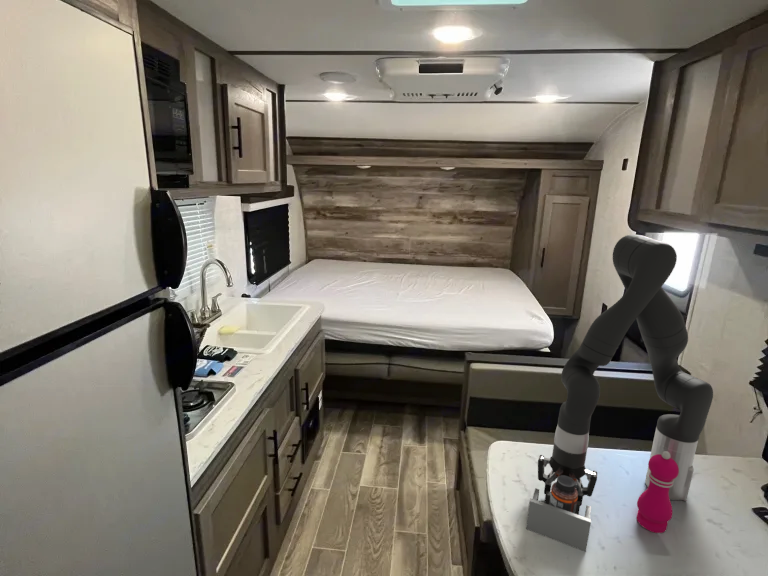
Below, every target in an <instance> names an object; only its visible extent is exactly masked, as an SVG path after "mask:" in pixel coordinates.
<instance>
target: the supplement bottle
mask: <svg viewBox="0 0 768 576" xmlns="http://www.w3.org/2000/svg"><path fill="white" fill-rule="evenodd" d="M550 492H551V496H550V503H549V505H551V506H554V507H557V508H560V509H563V510H566V511H569V512H572V513H574V514H575V512H576V506H577V499H578V492H577V490H576V488H575V481H574V480H573V479H572V478H570V477H568V476H565V475H561V476H558V478H557V479H556V482H555V481H554V483H553V484H551V490H550Z"/></svg>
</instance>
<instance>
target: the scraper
mask: <svg viewBox="0 0 768 576" xmlns="http://www.w3.org/2000/svg"><path fill="white" fill-rule="evenodd" d="M544 495H545V497H544V502H543V503H546V504H549V503H550V496H551V490H550V491H546V494H544ZM580 508H581V506H580V501H577V506H576V512H575V514H577V515H580V514H579V513H580Z"/></svg>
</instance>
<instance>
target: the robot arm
mask: <svg viewBox="0 0 768 576" xmlns="http://www.w3.org/2000/svg"><path fill="white" fill-rule="evenodd" d="M677 257H678V256H677V251H676V250H675V248H674V247H673V246H672V245H671V244H669V243H667V242H664V241H660V240H657V239H655V238H651V237H647V236H645V235H641V234H629V235H628V234H626V235H624V236H623V237H620V239H619V240H618V241H617V242H616V243H615V245H614V247H613V250H612V264H613V266H614V269H615V271H616V273H617V275H618V277H619V279H620V281H621V283H622V285H623V287H624V289H625V293H624V294H623V295H622V296H621V297H620V298H619V300H617V302H615V303H614V304H612V306H610V307H609V308H608V309H607V308H606V310H604V311H603V312H601V314H599V315H598V316H597V317H596V318H595V319H594V320H593V322H592V323H591V324H590V327H589V328H588V330H587V332H586V334H585V336H584V338H583V340H582V342H581V344H580V346H579V347H578V349H577V350H576V351H575V352H574V353H573V354H572V355H571V356H570V358H569V359H568V360H567V361H566V363H565V365H564V366H563V368H562V371H561V374H560V379H561V382H562V384H563V387H564V388H565V389H566V391H567V395H566V401H564V402H562V404H561V405H560V408H559V412H558V418H557V426H556V429H555V433H554V437H553V447H552V456H551V457H550V458H549V457H545V456H544V455H543V454H540V455H538V456H539V457H538V460H537V479H538V481H540V482H541V481H542V482H543V483H544V488H543V489H544V490H543V494H544V495H546V491H550V492H551V488H552V483H553V482H555V481H557V478H558V476H561V475H565V476H568V477H570V478H572V479H573V480H574V481H575V488H576V490H577V492H578V499H577V501H580V507H581V506H582V505H583V498H584V496H587V497H589V498H590V497H592V496H593V493H594V489H595V487H596V484H597V480H598V472H597V470H592V471H591V470H589V469H586V466H585V464H586V459H587V453H588V448H589V439H590V437H589V436H590V435H589V434H590V427H591V420H592V415H593V414H594V411H595V410H596V407H597V405H598V403H599V399H600V395H601V387H600V386H601V385H600V383H599V381H598V379H597V378H596V377H595V375H594V374H595V372H596V370H597V369H598V368H599V367H605V366H607V365H609V364H610V362H611V361H612V359H613V357H614V356H615V354H616V352H617V350H618V349H619V347H620V345H621V343H622V341H623V340H624V337H625V336H626V334H627V333H628V331H629V329H630V327H631V326H632V325H633V323H634V322H635V321H636V322H637V325H638V326H637V327H638V329H639V333H640V335H641V338H642V340H643V344H644V346H645V348H646V352H647V355H648V359H649V363H650V366H651V369H652V376H653V382H654V388H655V391H656V393H657V396H658V398H659V399H660V400H662V401H663V402H664V403H666V404H667V405H669V406H671V407H673V408H675V409H677V410H679V411H680V414H673V413H672V414H671V413H667V414H663V415H660V416H658V419H657V423H656V427H655V432H654V437H653V442H652V447H651V451H650V455H649V456H650V457H649V459H650V458H651V457H652V456H654V455H657V454H661V455H662V452H663V451H667V452H669V453H670V455H671V457H670V458H672V459H673V460H674V461H675V462H676V463H677V465H678V468H679V474H678V476H677V477H676V478H675V479H674V483H673V486H672V487H670V489H669V499H670V501H684V502H687V501H688V500H687V499H688V496H689V491H690V487H691V483H692V480H693V479H692V478H693V476H694V475H693V474H694V472H695V469H694V464H693V463H694V460H695V455H696V451H697V448H698V447H697V446H698V444H699V439H700V435H701V433H702V431H703V429H704V428H705V425H706V421H707V418H708V415H709V411H710V409H711V405H712V402H713V398H714V389H713V387H712V384H710V383H708V382H707V381H705V380H702V379H700V378H698V377H695V376H693V375H691V374H689V373H686V372H685V371H683V370H682V369H681V367H680V365H679V363H678V357H679V356H680V355H681V354H682V353H683V352H684V351H685V349H686V347H687V346H688V342H689V333H688V329H687V327H686V324H685V323H686V322H685V319H684V317H683V314H682V312H681V311H680V309H679V308H678V306H677V305H676V304H675V302H674V301H673V299H671V297H670V296H669V295H668V293H667V292H666V291H665V289H664V288H663V285H664V284H665V282H667V280H668V278H670V276H671V275H672V273H673V271H674V269H675V267H676V264H677ZM547 465H549V466H550V468H551V471H550V472H549V473H548V474H546V473H545V468H546V467H547ZM646 470H647V471H646V475H645V480H644V481H645V485H646V487H647V488H648V486H649V483H650V479H649V478H648V475H649V471H650V469H649V466H647V469H646ZM584 476H586V479H587V481H588V484H587V486H584V484H583V483H582V478H583V477H584Z"/></svg>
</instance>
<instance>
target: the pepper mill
mask: <svg viewBox="0 0 768 576" xmlns="http://www.w3.org/2000/svg"><path fill="white" fill-rule="evenodd" d="M670 457H671V455H670V453H669V452H667V451H663V452H662V455H661V454H657V455H654V456H652V457H651V458H650V457H649V460H648V464H647V465H648V466H649V469H650V471H649V475H648V478H649V479H650V483H649V486H648V487H647V488H646V489H645V490H644V491H643V492H641V494H640V495H639V497H638V499H637V503H636V505H637V506H636V507H637V514H636V521H637V522H638V524H639V525H640V526H641V527H643V528H644V529H645V530H647V531H650V532H651V533H656V534H662V533H665V532H666V530H667V529H668V528H667V527H668V523H669V522H670V521H671V519H672V517H673V506H672V503H671V499H669V489H670V487H672V486H673V483H674V479H675V478H676V477H677V476H678V474H679V468H678V465H677V463H676V462H675V461H674V460H673V459H672V458H670ZM648 466H647V467H648Z"/></svg>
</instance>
